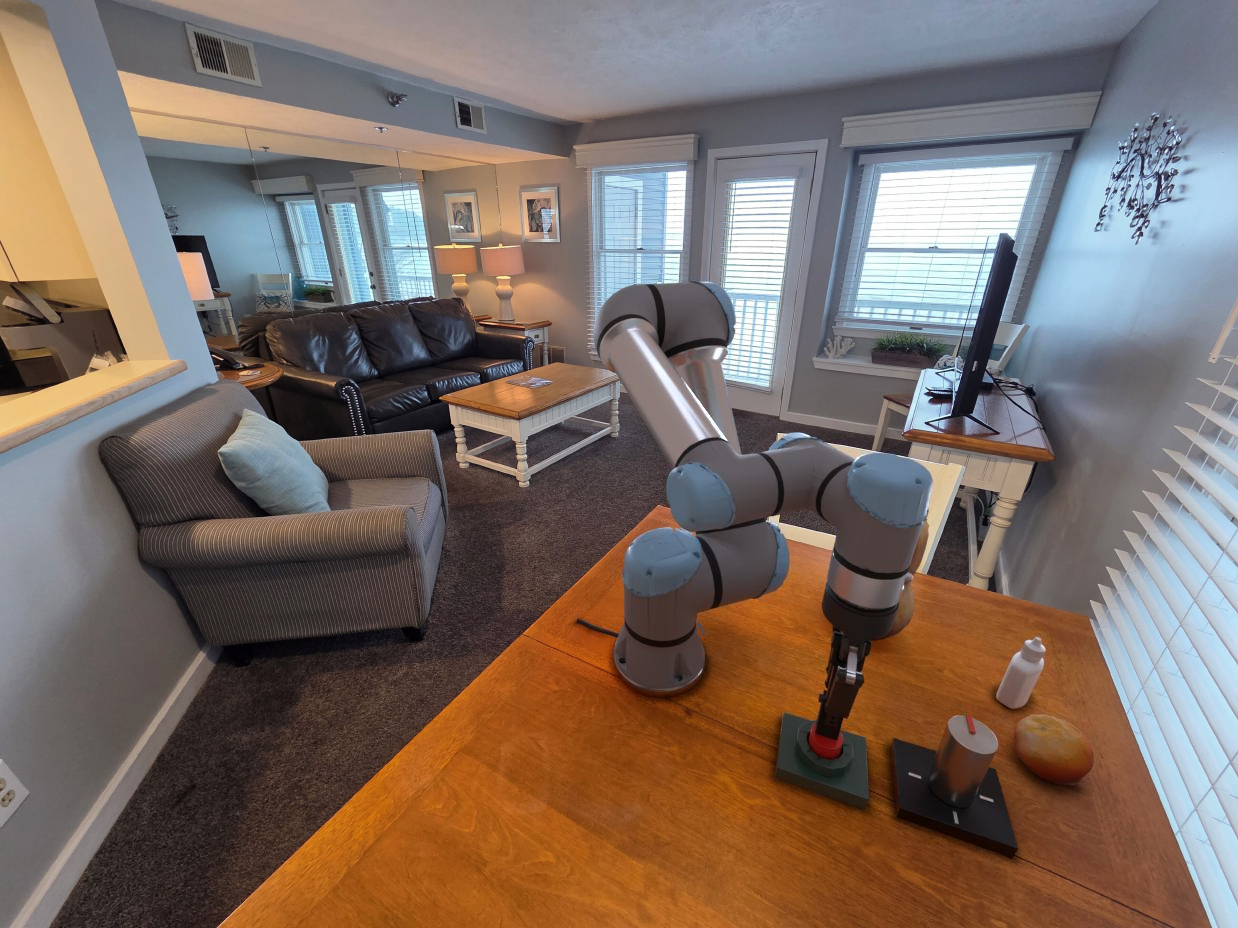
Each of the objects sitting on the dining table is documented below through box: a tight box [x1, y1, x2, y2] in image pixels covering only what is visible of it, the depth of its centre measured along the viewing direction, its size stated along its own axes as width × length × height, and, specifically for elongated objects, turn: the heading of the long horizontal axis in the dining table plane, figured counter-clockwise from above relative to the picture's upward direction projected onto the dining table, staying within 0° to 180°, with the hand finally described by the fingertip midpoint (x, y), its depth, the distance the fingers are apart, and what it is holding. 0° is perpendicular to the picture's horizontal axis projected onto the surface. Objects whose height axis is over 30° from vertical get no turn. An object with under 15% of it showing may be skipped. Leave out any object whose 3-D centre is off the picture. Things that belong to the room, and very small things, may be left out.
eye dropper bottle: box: [995, 636, 1046, 710], centre depth 75 cm, size 4×6×12 cm
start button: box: [809, 723, 843, 759], centre depth 66 cm, size 4×4×2 cm
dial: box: [927, 714, 999, 808], centre depth 61 cm, size 5×5×10 cm
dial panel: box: [889, 737, 1019, 859], centre depth 63 cm, size 12×10×2 cm
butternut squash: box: [871, 518, 930, 642], centre depth 86 cm, size 14×13×25 cm
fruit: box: [1013, 713, 1095, 787], centre depth 66 cm, size 8×8×8 cm
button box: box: [774, 711, 870, 811], centre depth 67 cm, size 11×9×4 cm
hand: (826, 731), depth 66 cm, fingers closed
